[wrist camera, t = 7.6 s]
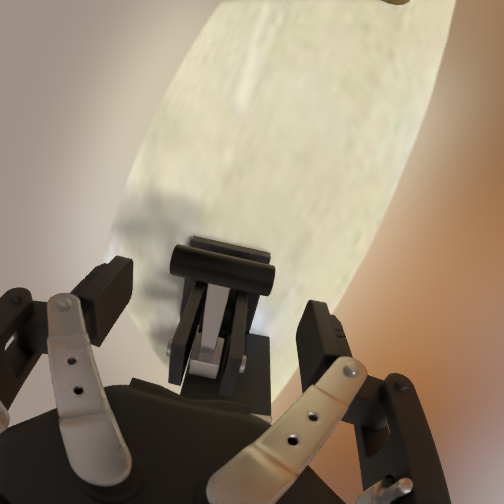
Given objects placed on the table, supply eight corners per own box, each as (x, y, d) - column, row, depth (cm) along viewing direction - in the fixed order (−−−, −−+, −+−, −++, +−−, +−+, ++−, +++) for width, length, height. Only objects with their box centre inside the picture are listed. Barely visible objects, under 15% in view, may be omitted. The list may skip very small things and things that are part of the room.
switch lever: (181, 232, 15) (166, 265, 13) (276, 253, 15) (274, 289, 13) (178, 344, 23) (171, 369, 21) (237, 357, 23) (233, 383, 21)
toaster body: (199, 322, 33) (176, 404, 22) (270, 336, 34) (272, 422, 22) (193, 361, 36) (173, 438, 25) (256, 374, 36) (254, 453, 25)
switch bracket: (193, 235, 29) (151, 305, 17) (270, 253, 30) (275, 333, 18) (182, 314, 33) (150, 397, 21) (248, 329, 33) (242, 418, 22)
